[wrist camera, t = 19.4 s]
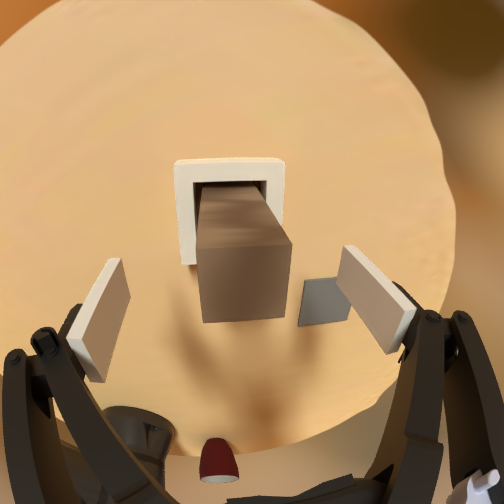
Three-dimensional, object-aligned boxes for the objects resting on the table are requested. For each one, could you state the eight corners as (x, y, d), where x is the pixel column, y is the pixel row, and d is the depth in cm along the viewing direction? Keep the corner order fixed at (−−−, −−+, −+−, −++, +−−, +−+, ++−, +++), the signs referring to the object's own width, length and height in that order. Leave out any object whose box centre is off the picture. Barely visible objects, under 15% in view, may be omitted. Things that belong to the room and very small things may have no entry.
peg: (205, 227, 26) (202, 323, 14) (203, 182, 24) (195, 248, 12) (251, 225, 27) (284, 317, 15) (252, 180, 25) (292, 244, 13)
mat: (297, 325, 34) (298, 326, 34) (304, 280, 31) (305, 281, 30) (345, 318, 35) (346, 319, 35) (357, 275, 32) (358, 276, 31)
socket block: (184, 250, 27) (181, 264, 24) (177, 160, 23) (173, 165, 20) (272, 245, 28) (279, 260, 25) (277, 157, 24) (285, 162, 21)
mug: (247, 442, 51) (254, 479, 42) (221, 451, 52) (225, 485, 43) (217, 431, 46) (221, 473, 37) (190, 440, 47) (191, 479, 39)
